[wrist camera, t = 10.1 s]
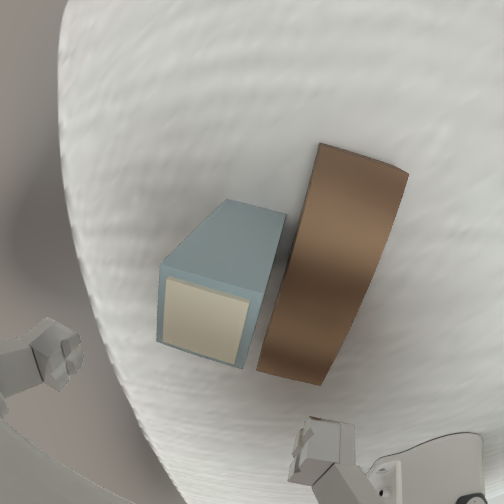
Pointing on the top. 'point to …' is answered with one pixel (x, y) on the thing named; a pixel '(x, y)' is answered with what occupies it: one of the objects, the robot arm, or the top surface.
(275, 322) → the rail
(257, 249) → the block
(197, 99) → the top surface
